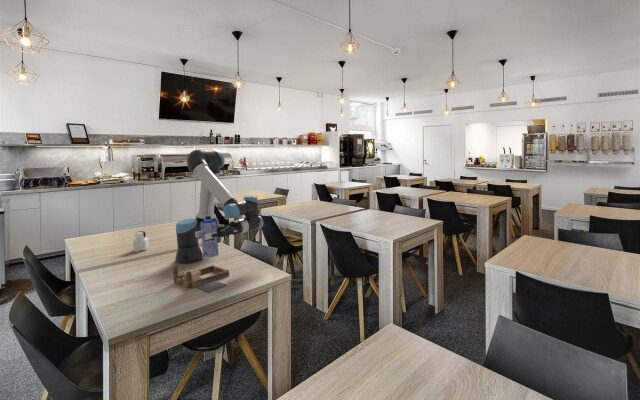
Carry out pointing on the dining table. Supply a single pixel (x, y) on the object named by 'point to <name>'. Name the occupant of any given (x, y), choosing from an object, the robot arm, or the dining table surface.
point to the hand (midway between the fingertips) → (200, 235)
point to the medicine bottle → (141, 241)
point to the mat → (212, 286)
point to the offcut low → (192, 280)
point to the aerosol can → (211, 244)
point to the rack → (190, 284)
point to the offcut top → (193, 274)
